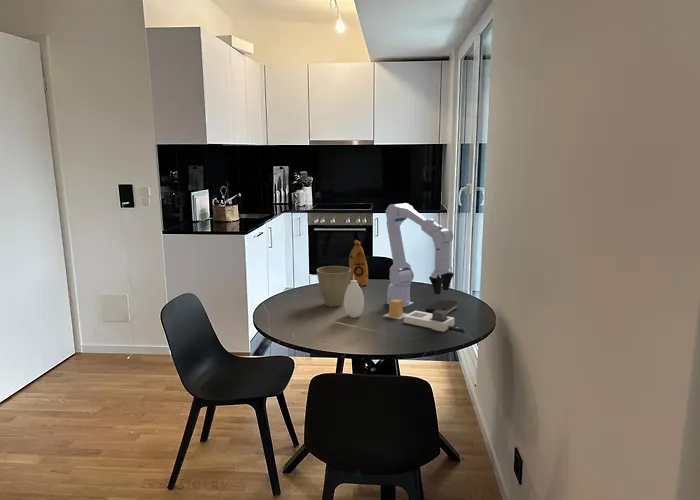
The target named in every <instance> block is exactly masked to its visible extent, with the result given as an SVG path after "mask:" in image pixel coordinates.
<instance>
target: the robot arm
mask: <svg viewBox="0 0 700 500" xmlns="http://www.w3.org/2000/svg"><path fill="white" fill-rule="evenodd" d="M385 216H386V228H387V233H388V239H389V245H390V251H391V257H392V258H391V259H392V263H393V264H392V265H391V266H390V268H389V276H388V277H389V281H390V283H388V286H387V291H386V292H387V293H386V294H387V296H386V297H387V299H386V301H387V302H386V305H387V304H388V305H389V301H391V300H393V299H398V300H403V308H405V307H408V306H410V305H413V304H414V303H415V302H413V301H411V299H410V297H411V284H412V281H414V277H415V276H414V272H413V269H412V267H411V264H410V263H408V262H407V260H406V256H405V254H406V253H405V249H404V243H403V239H402V238H403V237H402V231H401V225H402V223H404V222H405V221H406V220H407V219H409V220H411V221H412V222H414V223H415V224H417V225H418V226H420V228H421V231H423V232H424V233H425V234H426V235H428V236H430V238H432V241H433V243H434V269H433V271H432V272H431V274H430V276H428V277H429V280H430V283H431V285H432V288H433V293H434V295H438V296H440V294H441V291H442V290H443V291H449V289H450V285H451V283H452V279H453V277H454V276H455V273H454V272H453V267H452V266H450V257H451V256H450V252H451V251H450V250H451V242H452V241H453V238H454V234H453V233H454V232H453V231H452V230H451V229H450V228H448V227H445V228H444V227H443V226H442V225H440V224H438V222H435V219H434V218H425V217H424V216H423V215H422V214H420V213H419V212H418V211H417V210H415V209H414V207H413V205H410V204H409V203H407V202H404V203H396V204H395V203H393V204H392V203H391V204H389V205H388V206H387V208H386V210H385Z"/></svg>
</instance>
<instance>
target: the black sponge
mask: <svg viewBox="0 0 700 500" xmlns="http://www.w3.org/2000/svg"><path fill="white" fill-rule="evenodd" d="M457 301H458V300H453V299H448V300H447V299H441V300H440V299H439V300H438V301H435V302H434V303H432V304H430V305H429V306H427V307H425V312H426V313H431V314H432V312H433V311H435V310H437V309H438V310H444V311H447V314H449V313H451V312H452V311H454V309H456V308H457V305H458V302H457Z"/></svg>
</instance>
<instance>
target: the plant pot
mask: <svg viewBox="0 0 700 500" xmlns="http://www.w3.org/2000/svg"><path fill="white" fill-rule="evenodd" d="M316 274H317V280H318V284H319V289H320V292H321V295H322V298H323V300H324V303H325V305H326V306H327V305H328V306H327V307H329V306H333V307H332V308H338V307H337V306H339V307H341V305H342V306H344V297H345V293H346V290H347V287H348V285H349V284H350V274H351V269H350V268H349V266H348V267H347V266H343V265H342V266H341V265H329V266H321V267H318V268H317V269H316Z"/></svg>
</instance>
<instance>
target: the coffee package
mask: <svg viewBox="0 0 700 500" xmlns="http://www.w3.org/2000/svg"><path fill="white" fill-rule="evenodd" d="M353 243H354V244H355V245H354V246H353V247H352V249H351V251H350V253H349V257H348V258H349V259H348V268H350V269H351V274H350V280H349V282H350V281H351V280H353V274H354V280H357V283H358V284H359V285H360V287H364V285H367V286H368V281H369V269H368V268H369V267H368V264H367V263H368V262H367V260H366V256H365V253H364V249H363V247H362V246H361V241H359V240H357V239H355V240H354V241H353Z"/></svg>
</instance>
